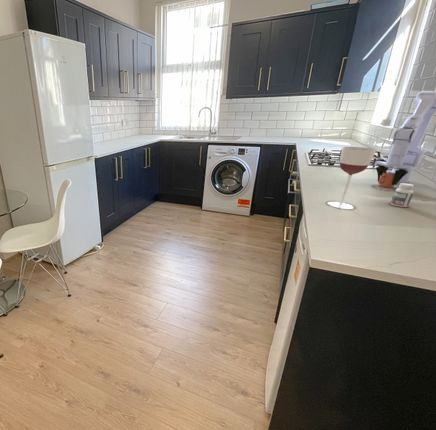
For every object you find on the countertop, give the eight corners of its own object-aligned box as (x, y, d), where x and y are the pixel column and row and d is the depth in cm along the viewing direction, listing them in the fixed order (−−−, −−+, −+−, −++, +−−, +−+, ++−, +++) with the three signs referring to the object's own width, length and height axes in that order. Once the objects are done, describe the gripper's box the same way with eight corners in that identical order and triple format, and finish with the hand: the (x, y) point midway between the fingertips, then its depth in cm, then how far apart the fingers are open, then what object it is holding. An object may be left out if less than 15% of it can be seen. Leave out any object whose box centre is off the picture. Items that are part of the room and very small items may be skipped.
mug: (384, 184, 140) (388, 171, 137) (396, 187, 135) (401, 174, 132) (371, 185, 138) (375, 172, 136) (383, 188, 133) (388, 174, 131)
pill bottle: (400, 203, 117) (408, 182, 113) (411, 207, 112) (420, 186, 108) (386, 202, 117) (394, 182, 114) (397, 207, 112) (405, 185, 109)
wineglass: (361, 210, 109) (382, 150, 101) (332, 208, 111) (350, 150, 102) (347, 202, 118) (366, 147, 109) (321, 200, 119) (337, 146, 111)
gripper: (374, 152, 136) (364, 179, 141) (410, 158, 123) (398, 187, 129) (384, 152, 138) (374, 178, 143) (421, 157, 125) (409, 186, 130)
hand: (386, 183), depth 136 cm, fingers closed on mug, 5 cm apart
